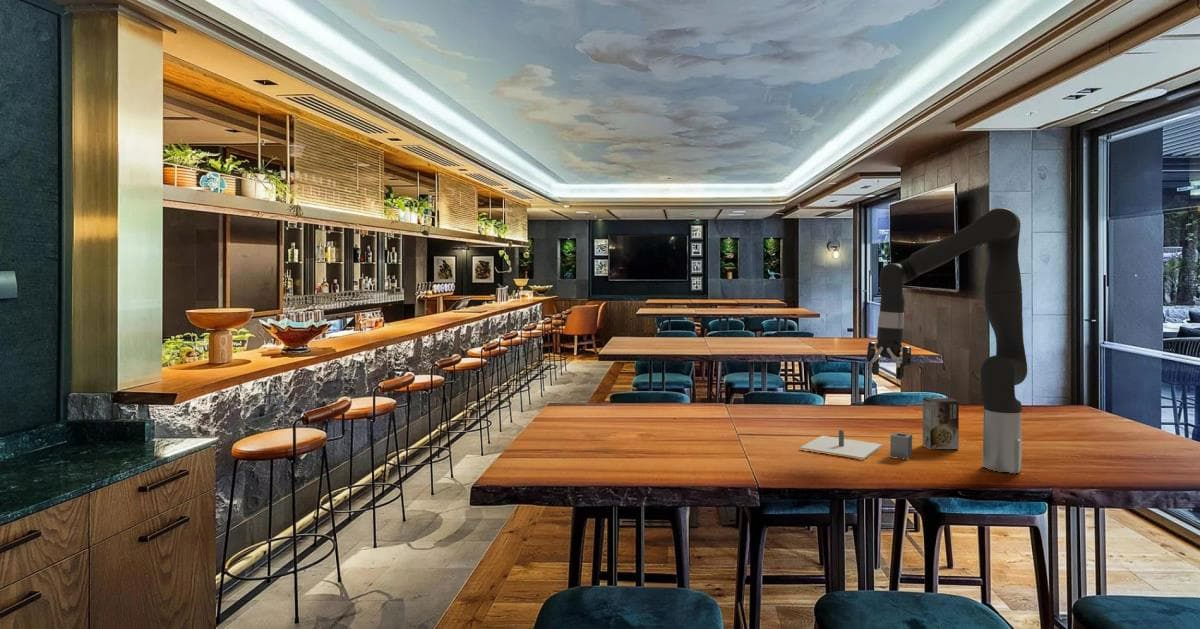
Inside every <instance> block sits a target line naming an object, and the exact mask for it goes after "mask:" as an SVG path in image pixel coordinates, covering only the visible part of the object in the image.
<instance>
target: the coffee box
mask: <svg viewBox="0 0 1200 629" xmlns="http://www.w3.org/2000/svg"><path fill="white" fill-rule="evenodd" d="M959 407H960V402H959V400H957V399H955V398H953V397H922V446H923V445H925V446H926V447H928V448H930V449H959V448H960V447H959V445H960V444H959V443H960V442H959V440H960V439H959V436H960V435H959V433H960V432H959V430H960V429H959V428H960V427H959V426H960V424H959V422H960V421H959V420H960V419H959V414H960V413H959V412H960V411H959V410H960V409H959ZM925 446H924V447H925ZM926 447H925V448H926ZM928 448H927V449H928ZM930 449H929V450H930Z"/></svg>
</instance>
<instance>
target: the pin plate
mask: <svg viewBox="0 0 1200 629" xmlns="http://www.w3.org/2000/svg"><path fill="white" fill-rule="evenodd" d="M880 447H882V448H883V444H882V443H876V442H869V441H868V442H867V441H860V440H855V439H848V438H847V439H846V438H845V430H843V429H840V430H839V431H838V437H834V436H827V435H821V436H819V437H816V438H814V439H813V440H811V441H809V442H807V443H805V444H803V445H802V446H800V447H799V449H800V448H801V449H807V450H812V451H818V452H825V453H831V454H836V455H842V456H848V457H854V458H859V459H865V458H866V457H867V456H869V455H870V454H872V453H873V452H875V451H876V450H878V449H879V448H880ZM879 450H880V449H879ZM879 450H878V451H879ZM876 452H877V451H876ZM876 452H875V453H876ZM872 455H873V454H872ZM869 457H870V456H869ZM865 460H866V459H865Z"/></svg>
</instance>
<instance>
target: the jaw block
mask: <svg viewBox="0 0 1200 629" xmlns="http://www.w3.org/2000/svg"><path fill="white" fill-rule="evenodd" d="M889 448H890V449H889V450H890V453H889V455H890V456H892V457H897V458H904V459H908V458H910V457H911V456H913V434H910V433H909V434H908V433H901V432H893V433H892V434H890V447H889ZM890 456H889V457H890ZM911 458H912V457H911ZM911 458H910V459H911Z"/></svg>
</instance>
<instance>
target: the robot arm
mask: <svg viewBox="0 0 1200 629" xmlns="http://www.w3.org/2000/svg"><path fill="white" fill-rule="evenodd" d="M1020 233H1021V220H1020V217H1019V216H1018V214H1017V213H1015V212H1014V211H1012V209H1008V208H1005V207H995V208H992V209H991V210H988V211H987V212H986V213H985V214H983V215H981V216H980V217H979V218H977V219H976V220H975V221H973V222H971V223H970V224H969V225H967V226H965V227H963V228H962V229H960V230H959V231H956V232H955V233H953V234H950V235H949V236H947V237H945V238H942V239H940V240H938V241H935V242H933V243H932V244H929V245H928V246H925V247H923V248H921V249H919V250H917V251H915V252H913V253H911V255H910V256H909V257H908V258H905V259H904V260H902V261H899V262H897V263H895V262H894V263H893V262H892V263H891V262H889V263H887V264H886V265H883V267H882V268H881V270H880V273H879V289H880V290H879V292H880V302H879V313H878V320H877V332H876V333H877V334H876V340H877V342H875V341H874V342H873V341H871V342H868V346H867V352H866V360H867V361H869V362H871V374H872V375H873V376H878V375H879V374H880V362H881V360H882V359H884V358H886V359H890V360H891V359H892V361H893V362H894V363H895V365H896V369H895V379H896V380H902V379H903V378H904V376H905V367H910V366H911V364H912V346H902V343H903V341H904V340H903V339H904V330H905V329H904V328H905V307H906V306H905V305H906V304H905V302H906V301H905V296H904V295H903V285H905V284H906V283H909V282H910V281H913V280H914V279H916V278H917V277H918V278H919V276H921V275H923V274H925V273H927V272H930V271H932V270H934V269H936V268H939V267H941V266H943V265H944V264H947V263H948V262H950V261H952V260H953V259H955V258H957V257H958V256H960V255H961V254H963V253H965V252H967V251H969V250H971V249H973V248H975V247H979V246H981V245H984V244H987V251H988V263H987V268H986V273H985V279H984V289H983V290H984V291H983V292H984V294H983V296H984V297H983V298H984V299H983V300H984V310H985V313H986V317H987V319H988V322H989V323H990V325H991V328H992V330H993V333H994V336H995V345H996V346H995V351H996V352H995V355H992V356H989V357H987V358H986V359H985V360H984V361H983V362H982V364H981V367H980V373H979V374H980V375H979V376H980V379H979V381H980V383H979V384H980V398H981V401H982V402H983V420H982V421H983V423H982V424H983V426H982V428H983V430H982V432H983V435H982V467H985V468H987V469H986V470H988V469H989V470H988V471H991V470H993V471H992V472H995V471H998V472H997V473H1001V472H1009V473H1008V474H1016V473H1019V472H1021V471H1022V456H1023V455H1022V454H1023V453H1022V452H1023V451H1022V450H1023V449H1022V448H1023V444H1022V443H1023V437H1022V407H1023V405H1022V402H1021V401H1020V400H1018V399H1017V398H1016V391H1015V390H1016V387H1015V386H1018V385H1020V384H1022V383H1023V382H1024V381H1025V380H1026V378H1027V375H1028V362H1027V356H1026V348H1025V343H1024V323H1023V322H1024V321H1023V320H1024V319H1023V318H1024V317H1023V288H1022V287H1023V286H1022V278H1021V275H1022V274H1021V269H1020V263H1019V245H1020ZM901 353H902V355H901ZM985 468H984V469H985ZM1020 470H1021V471H1020ZM1019 474H1020V473H1019Z"/></svg>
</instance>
